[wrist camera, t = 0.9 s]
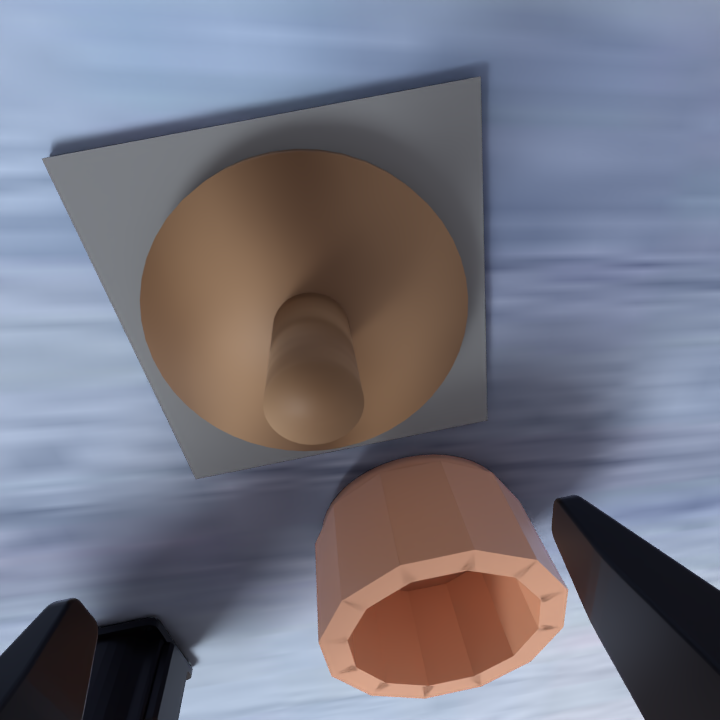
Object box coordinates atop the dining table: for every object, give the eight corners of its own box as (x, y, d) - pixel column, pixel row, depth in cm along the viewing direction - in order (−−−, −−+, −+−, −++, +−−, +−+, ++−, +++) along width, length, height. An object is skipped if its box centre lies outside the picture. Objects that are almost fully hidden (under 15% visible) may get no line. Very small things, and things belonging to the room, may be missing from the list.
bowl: (338, 601, 28) (346, 715, 23) (297, 474, 22) (296, 586, 17) (510, 565, 28) (557, 670, 23) (512, 431, 23) (575, 528, 18)
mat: (197, 473, 22) (195, 479, 21) (48, 157, 14) (41, 158, 14) (484, 415, 22) (487, 420, 21) (476, 77, 15) (480, 76, 14)
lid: (210, 458, 21) (179, 578, 16) (88, 186, 15) (-28, 233, 9) (466, 408, 21) (519, 509, 16) (451, 117, 15) (531, 127, 10)
